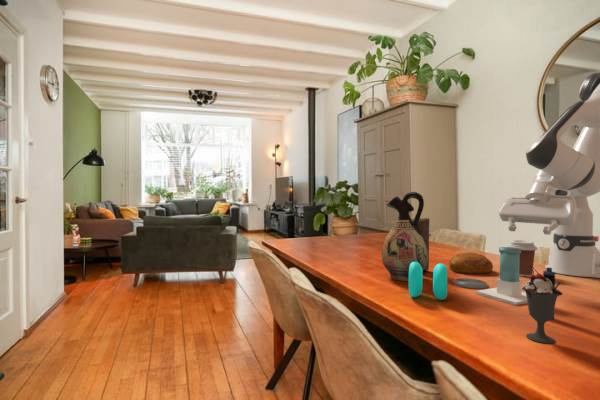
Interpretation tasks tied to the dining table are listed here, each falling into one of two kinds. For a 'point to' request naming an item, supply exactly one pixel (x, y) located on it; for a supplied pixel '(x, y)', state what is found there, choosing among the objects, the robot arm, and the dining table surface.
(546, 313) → the sundae
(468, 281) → the dish
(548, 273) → the vaping device
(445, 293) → the donuts
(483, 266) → the brown oval lump
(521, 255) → the coffee cup
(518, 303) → the white cube on base
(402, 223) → the ceramic jug
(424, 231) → the brown tall cylinder
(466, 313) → the dining table surface
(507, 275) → the teal domed cylinder
